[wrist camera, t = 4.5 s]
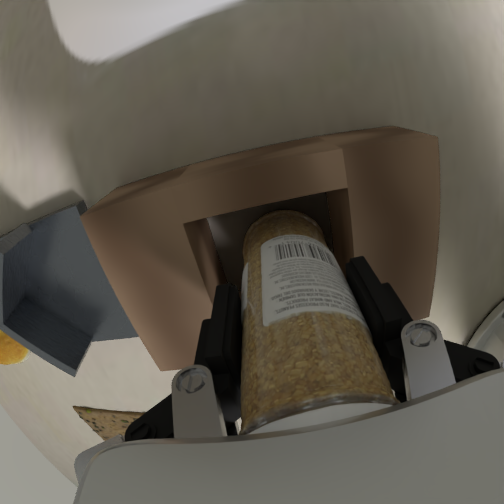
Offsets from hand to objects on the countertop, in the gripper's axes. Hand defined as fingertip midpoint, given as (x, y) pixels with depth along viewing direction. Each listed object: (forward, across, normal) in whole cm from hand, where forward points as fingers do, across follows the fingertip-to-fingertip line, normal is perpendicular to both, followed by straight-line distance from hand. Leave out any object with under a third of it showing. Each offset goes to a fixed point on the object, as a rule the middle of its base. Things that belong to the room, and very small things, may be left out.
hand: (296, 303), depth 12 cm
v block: (+6, +16, 0) cm, 17 cm away
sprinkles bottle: (+5, 0, 0) cm, 5 cm away
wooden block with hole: (+6, 0, 0) cm, 6 cm away
